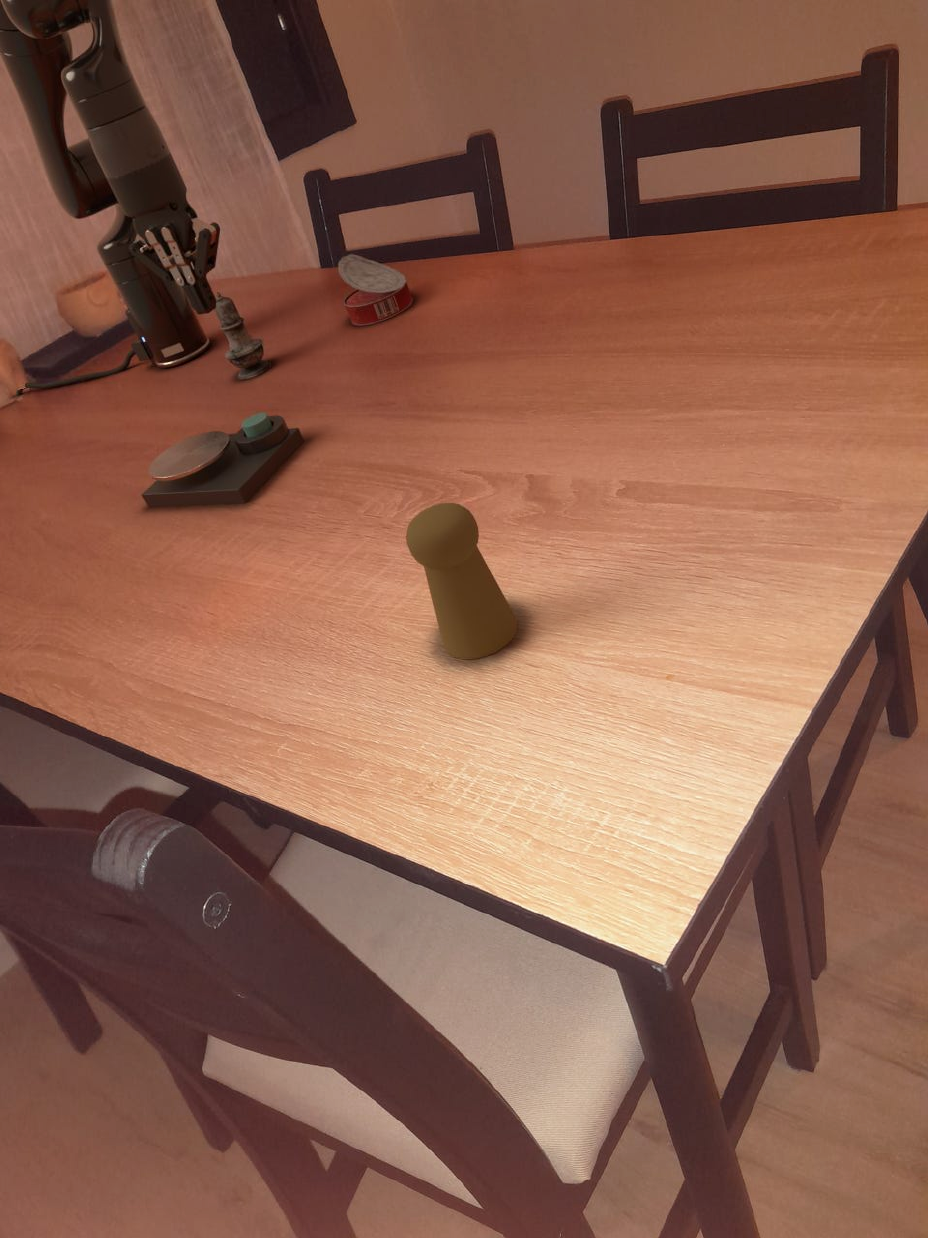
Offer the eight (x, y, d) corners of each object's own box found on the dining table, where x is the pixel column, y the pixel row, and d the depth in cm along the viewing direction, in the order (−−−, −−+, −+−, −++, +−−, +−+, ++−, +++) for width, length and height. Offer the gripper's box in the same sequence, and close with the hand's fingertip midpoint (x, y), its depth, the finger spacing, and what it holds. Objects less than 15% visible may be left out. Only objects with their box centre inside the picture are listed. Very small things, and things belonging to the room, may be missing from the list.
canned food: (394, 326, 149) (397, 258, 146) (422, 329, 141) (425, 257, 138) (326, 322, 144) (327, 252, 141) (350, 325, 135) (352, 250, 132)
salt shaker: (264, 375, 136) (227, 295, 129) (229, 383, 138) (191, 305, 131) (278, 357, 140) (243, 279, 133) (244, 365, 142) (207, 288, 135)
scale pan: (133, 483, 109) (131, 479, 109) (184, 437, 116) (182, 433, 116) (197, 479, 104) (195, 475, 104) (246, 431, 111) (244, 428, 111)
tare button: (242, 439, 111) (236, 427, 110) (256, 425, 113) (251, 413, 112) (263, 437, 109) (257, 425, 108) (277, 423, 111) (272, 411, 110)
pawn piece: (440, 621, 76) (393, 507, 69) (512, 599, 75) (471, 481, 69) (445, 668, 71) (394, 550, 64) (523, 645, 70) (479, 523, 64)
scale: (148, 508, 111) (133, 483, 109) (213, 446, 120) (200, 422, 118) (246, 504, 104) (231, 476, 102) (307, 439, 113) (295, 412, 111)
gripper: (201, 138, 103) (266, 291, 113) (116, 160, 109) (185, 303, 120) (159, 162, 98) (232, 319, 108) (73, 184, 104) (149, 330, 115)
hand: (207, 310), depth 114 cm, fingers closed
